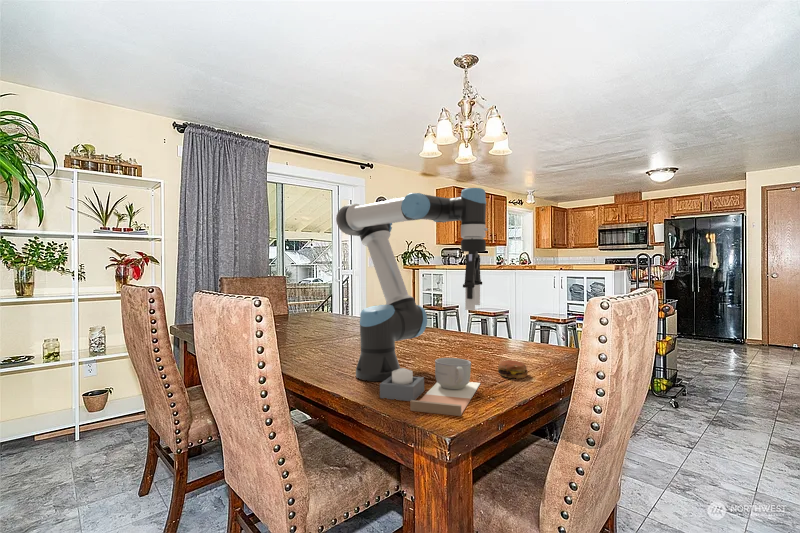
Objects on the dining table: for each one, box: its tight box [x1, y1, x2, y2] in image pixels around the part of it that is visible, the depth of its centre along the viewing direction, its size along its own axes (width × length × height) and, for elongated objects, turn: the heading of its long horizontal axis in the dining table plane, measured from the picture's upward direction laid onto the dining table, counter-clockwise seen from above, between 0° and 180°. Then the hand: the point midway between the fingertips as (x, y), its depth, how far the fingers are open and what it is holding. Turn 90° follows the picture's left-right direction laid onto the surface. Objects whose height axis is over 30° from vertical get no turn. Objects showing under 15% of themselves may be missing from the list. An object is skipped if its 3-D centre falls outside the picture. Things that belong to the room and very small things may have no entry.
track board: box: [409, 381, 481, 417], centre depth 118 cm, size 13×29×2 cm, turn 160°
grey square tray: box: [379, 376, 425, 402], centre depth 120 cm, size 10×10×4 cm
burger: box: [497, 359, 529, 380], centre depth 138 cm, size 10×9×5 cm
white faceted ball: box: [392, 367, 414, 385], centre depth 120 cm, size 6×6×6 cm
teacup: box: [434, 357, 472, 389], centre depth 124 cm, size 14×11×8 cm
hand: (473, 307), depth 129 cm, fingers open, 13 cm apart
